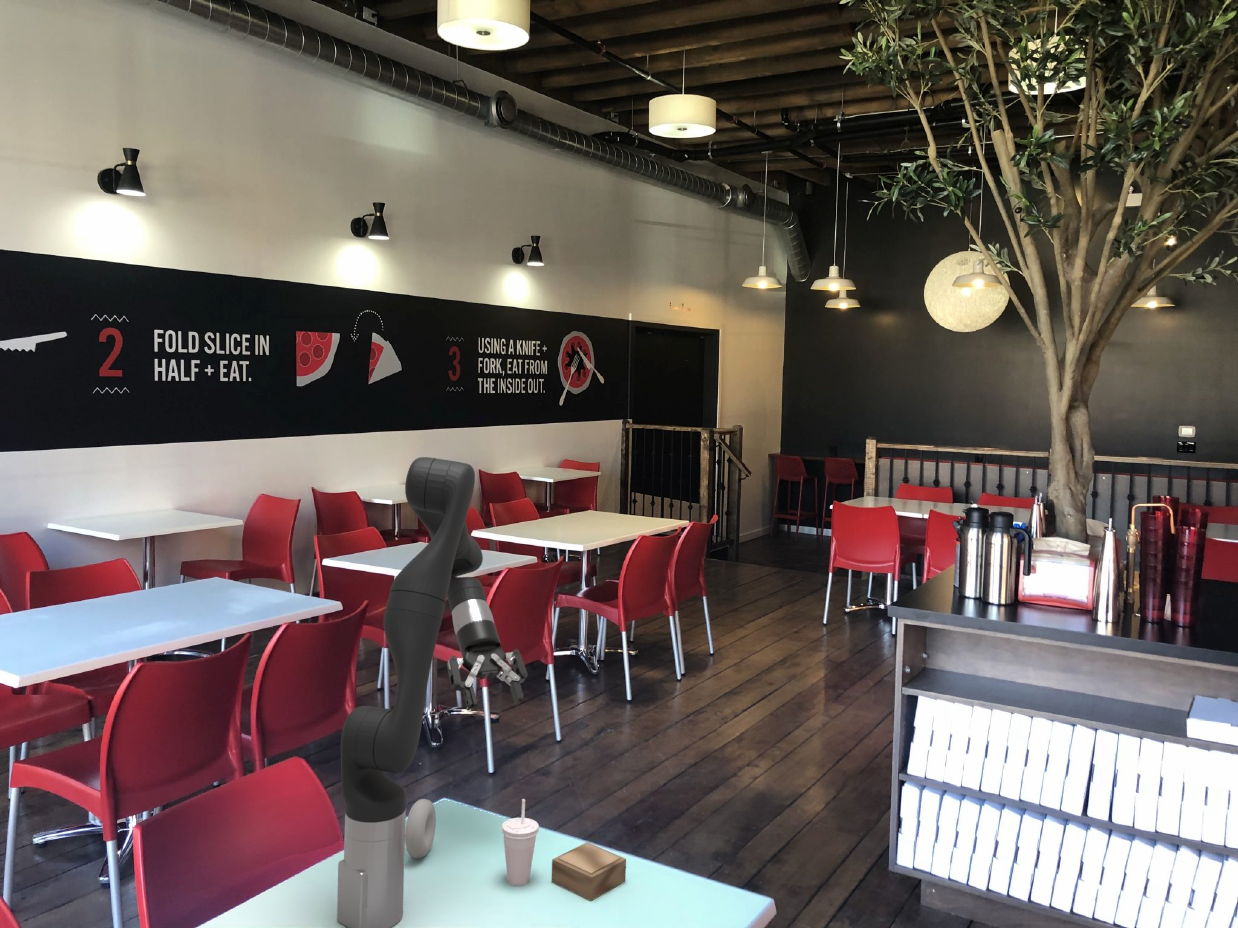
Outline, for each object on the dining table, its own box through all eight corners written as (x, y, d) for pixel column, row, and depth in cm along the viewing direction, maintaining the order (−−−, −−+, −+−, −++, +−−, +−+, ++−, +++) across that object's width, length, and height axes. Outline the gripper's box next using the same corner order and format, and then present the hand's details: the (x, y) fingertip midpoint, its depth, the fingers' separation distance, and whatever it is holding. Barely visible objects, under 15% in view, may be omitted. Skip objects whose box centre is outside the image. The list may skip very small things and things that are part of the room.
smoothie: (544, 880, 162) (547, 801, 161) (516, 893, 157) (519, 811, 157) (520, 867, 167) (522, 789, 166) (491, 879, 162) (494, 799, 161)
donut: (419, 841, 175) (421, 789, 174) (437, 843, 174) (439, 790, 174) (401, 867, 165) (402, 811, 164) (420, 869, 164) (422, 813, 164)
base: (590, 900, 156) (591, 875, 156) (551, 881, 162) (552, 857, 162) (625, 881, 163) (626, 857, 163) (586, 863, 169) (587, 840, 169)
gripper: (444, 621, 173) (465, 700, 164) (515, 615, 181) (539, 690, 171) (434, 642, 178) (453, 721, 169) (504, 636, 186) (526, 710, 176)
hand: (497, 705), depth 170 cm, fingers open, 8 cm apart
